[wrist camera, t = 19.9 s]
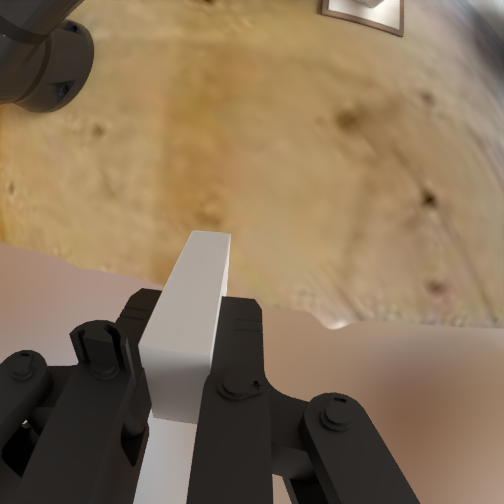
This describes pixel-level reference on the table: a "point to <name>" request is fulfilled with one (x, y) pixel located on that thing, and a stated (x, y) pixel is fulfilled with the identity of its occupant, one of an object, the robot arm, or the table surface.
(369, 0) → the ink box
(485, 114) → the table surface
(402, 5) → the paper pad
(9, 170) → the table surface
